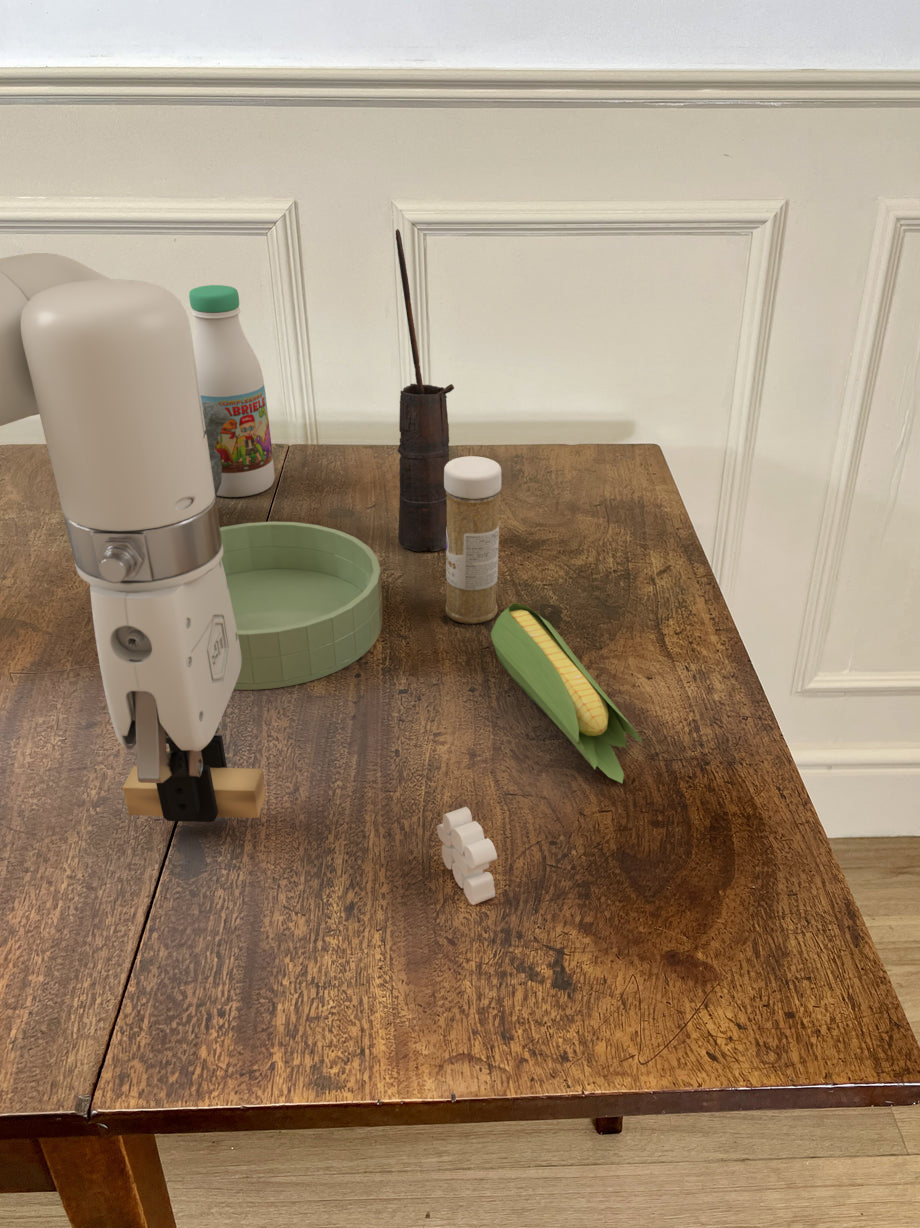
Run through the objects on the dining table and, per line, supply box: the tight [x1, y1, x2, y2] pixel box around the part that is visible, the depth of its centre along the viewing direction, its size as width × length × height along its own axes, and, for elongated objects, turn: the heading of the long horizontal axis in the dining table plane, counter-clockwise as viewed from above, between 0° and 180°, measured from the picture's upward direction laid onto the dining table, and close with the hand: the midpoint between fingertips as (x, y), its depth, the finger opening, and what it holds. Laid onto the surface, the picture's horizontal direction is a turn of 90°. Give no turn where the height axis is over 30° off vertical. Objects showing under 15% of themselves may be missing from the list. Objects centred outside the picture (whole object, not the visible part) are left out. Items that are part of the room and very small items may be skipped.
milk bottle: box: [188, 284, 276, 498], centre depth 105 cm, size 8×8×20 cm
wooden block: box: [122, 765, 266, 819], centre depth 64 cm, size 8×2×2 cm, turn 89°
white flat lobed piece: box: [436, 806, 498, 906], centre depth 61 cm, size 5×1×4 cm, turn 29°
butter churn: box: [395, 228, 455, 552], centre depth 93 cm, size 9×10×28 cm
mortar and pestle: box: [202, 401, 230, 496], centre depth 99 cm, size 11×9×12 cm
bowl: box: [220, 521, 384, 691], centre depth 85 cm, size 19×19×5 cm
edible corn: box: [489, 602, 644, 784], centre depth 76 cm, size 5×20×5 cm, turn 23°
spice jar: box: [444, 455, 502, 625], centre depth 85 cm, size 5×5×13 cm
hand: (197, 801), depth 65 cm, fingers closed on wooden block, 2 cm apart
